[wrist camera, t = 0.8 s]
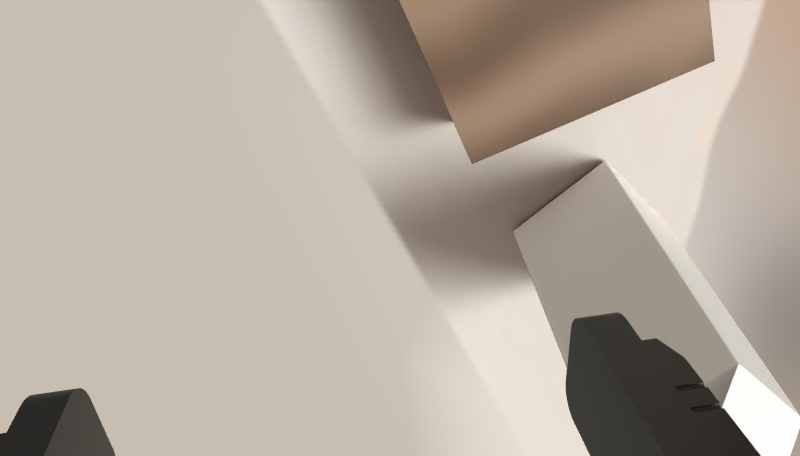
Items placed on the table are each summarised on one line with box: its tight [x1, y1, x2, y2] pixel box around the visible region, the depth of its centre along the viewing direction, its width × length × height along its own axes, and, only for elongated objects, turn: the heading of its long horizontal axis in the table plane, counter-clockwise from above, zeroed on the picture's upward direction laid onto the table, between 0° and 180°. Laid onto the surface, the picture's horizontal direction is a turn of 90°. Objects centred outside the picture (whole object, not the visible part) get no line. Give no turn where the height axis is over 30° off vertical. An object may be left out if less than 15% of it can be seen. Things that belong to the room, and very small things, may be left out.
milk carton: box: [513, 161, 800, 456], centre depth 33 cm, size 7×7×19 cm
